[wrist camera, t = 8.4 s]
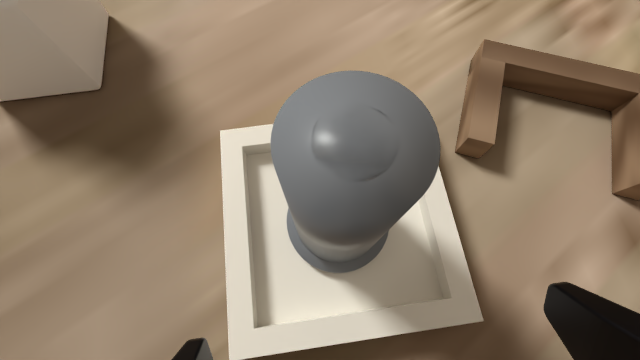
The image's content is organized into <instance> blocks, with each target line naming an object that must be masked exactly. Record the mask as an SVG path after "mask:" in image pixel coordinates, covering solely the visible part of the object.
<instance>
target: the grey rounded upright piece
mask: <svg viewBox="0 0 640 360" xmlns="http://www.w3.org/2000/svg"><path fill="white" fill-rule="evenodd" d="M270 146H271V156H272V161H273V165H274V168H275V171H276V174H277V176H278V179H279V182H280V185H281V187H282V190H283V193H284V196H285V199H286V201H287V204H288V207H289V208H288V212H287V230H288V235H289V238H290V240H291V243H292V244H293V246H294V248H295V250H296V251H297V253H298V254H299V255H300V256H301V257H302V258H303V260H305V261H306V262H307V263H308V264H310V265H311V266H313V267H315V268H317V269H319V270H322V271H325V272H330V273H347V272H351V271H355V270H357V269H360V268H362V267H363V266H365V265H367V264H368V263H369V262H371V261H372V260H373V259H374V258H375V257H376V256H377V255H378V254H379V252H380V251H381V250H382V248H383V246H384V244H385V242H386V239H387V237H388V232H389V229H390V228H391V227H392V226H393V225H394V224H395V223H396V222H397V221H398V220H399V219H400V218H401V217H402V216H403V215H404V214H405V213H406V212H407V211H408V210H409V209H410V208H411V207H412V206H413V205H414V204H416V203H417V201H418V200H419V199H420V198H421V197H422V196H423V195H424V194H425V193H426V191H427V190H428V188H429V187H430V186H431V184H432V182H433V180H434V178H435V175H436V172H437V169H438V166H439V160H440V140H439V134H438V131H437V127H436V124H435V122H434V120H433V117H432V116H431V114H430V112H429V111H428V109H427V108H426V106H425V105H424V104H423V103H422V101H421V100H420V99H419V98H418V97H417V96H416V95H415V94H414V93H413V92H411V91H410V90H409V89H407V88H406V87H405V86H403V85H401V84H400V83H398V82H396V81H394V80H392V79H390V78H388V77H385V76H382V75H379V74H375V73H370V72H364V71H341V72H335V73H330V74H326V75H323V76H320V77H318V78H316V79H313V80H311V81H309V82H308V83H306V84H304V85H303V86H301V87H300V88H299V89H298V90H296V91H295V92H294V93H293V94H292V95H291V96H290V97H289V98H288V99H287V100H286V102H285V103H284V104H283V106H282V107H281V109H280V111H279V112H278V114H277V116H276V119H275V122H274V124H273V128H272V133H271V143H270Z"/></svg>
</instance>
